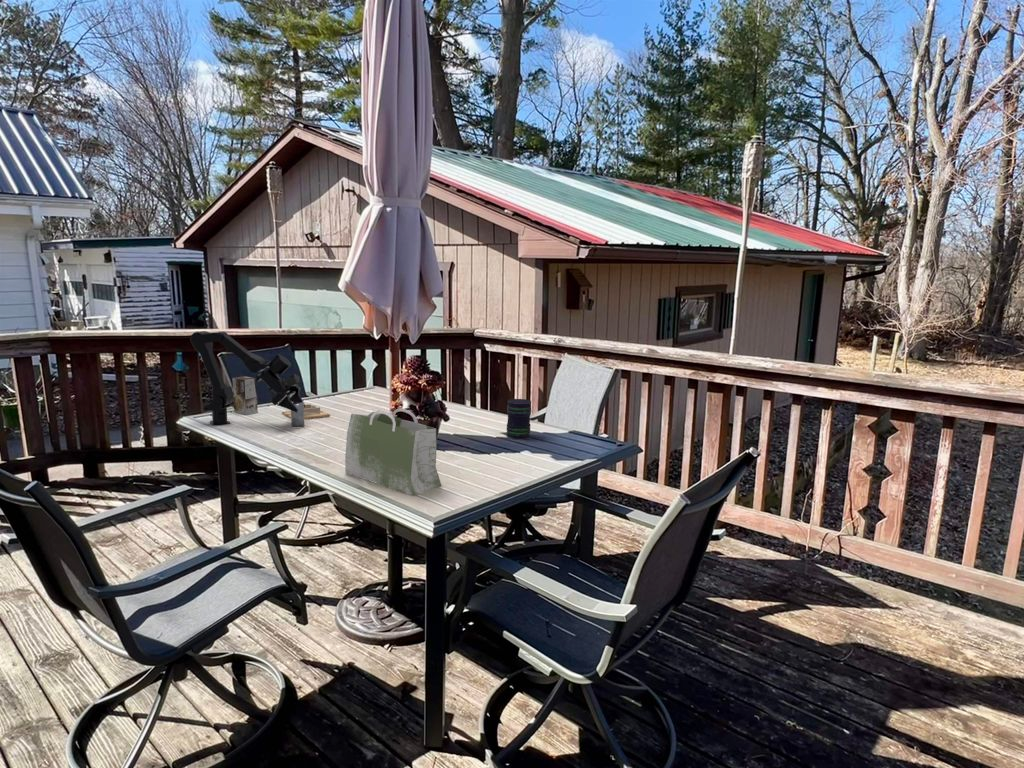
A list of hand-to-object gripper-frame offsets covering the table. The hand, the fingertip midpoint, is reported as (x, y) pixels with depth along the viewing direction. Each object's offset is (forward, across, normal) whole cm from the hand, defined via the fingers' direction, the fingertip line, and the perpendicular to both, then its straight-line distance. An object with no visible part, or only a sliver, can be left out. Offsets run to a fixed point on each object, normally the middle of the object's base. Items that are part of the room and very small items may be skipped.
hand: (300, 409), depth 263 cm
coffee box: (-18, +21, +29) cm, 40 cm away
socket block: (+2, +20, +9) cm, 22 cm away
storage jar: (+70, -2, -59) cm, 92 cm away
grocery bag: (+43, -62, -32) cm, 82 cm away
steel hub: (+4, 0, +6) cm, 8 cm away
